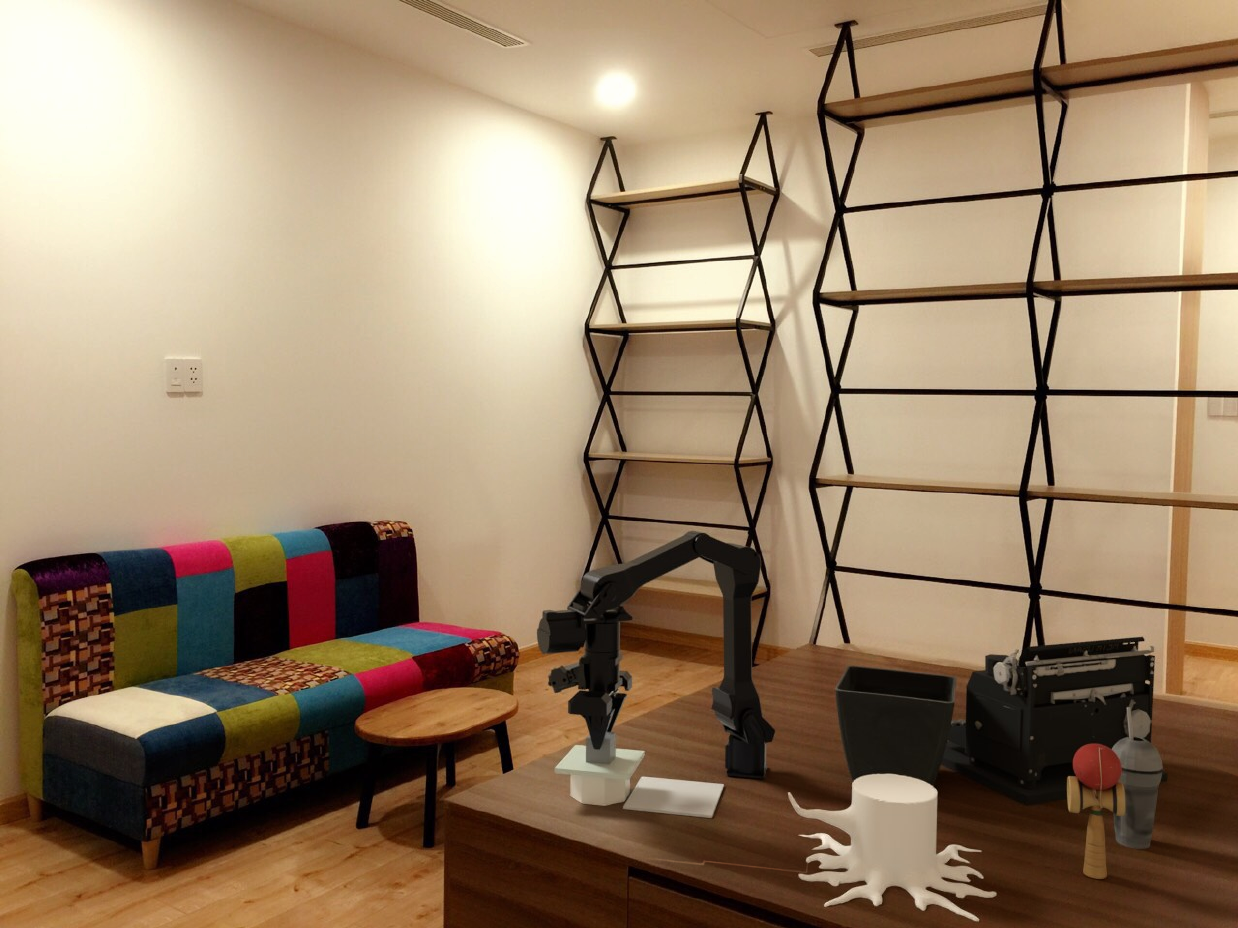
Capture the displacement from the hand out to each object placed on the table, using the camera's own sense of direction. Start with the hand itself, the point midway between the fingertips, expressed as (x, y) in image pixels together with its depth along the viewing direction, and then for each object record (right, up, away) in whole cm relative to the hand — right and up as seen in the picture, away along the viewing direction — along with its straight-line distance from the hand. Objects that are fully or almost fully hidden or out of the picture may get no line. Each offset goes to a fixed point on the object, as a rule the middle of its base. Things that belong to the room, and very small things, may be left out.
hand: (601, 744), depth 165 cm
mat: (+12, -9, 0) cm, 15 cm away
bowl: (0, -8, 0) cm, 8 cm away
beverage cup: (+78, -10, -16) cm, 80 cm away
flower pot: (+50, -9, +10) cm, 52 cm away
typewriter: (+77, -9, +16) cm, 79 cm away
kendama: (+67, -11, -27) cm, 73 cm away
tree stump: (+40, -11, -24) cm, 48 cm away
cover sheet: (0, -3, 0) cm, 3 cm away
